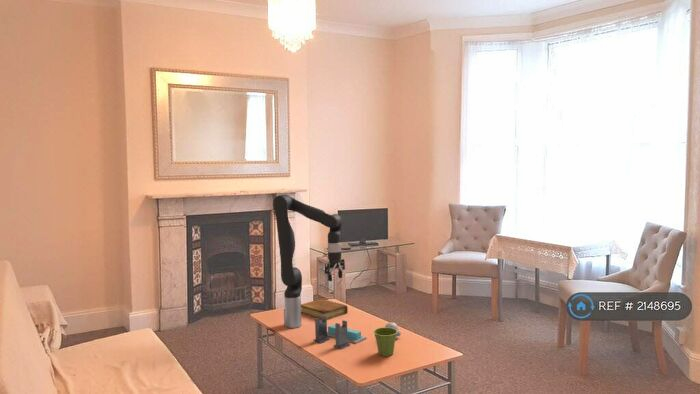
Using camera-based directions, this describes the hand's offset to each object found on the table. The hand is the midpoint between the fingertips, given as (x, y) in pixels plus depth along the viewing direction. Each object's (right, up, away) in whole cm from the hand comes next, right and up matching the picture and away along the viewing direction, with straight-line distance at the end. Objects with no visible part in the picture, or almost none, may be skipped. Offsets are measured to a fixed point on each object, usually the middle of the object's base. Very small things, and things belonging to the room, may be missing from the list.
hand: (335, 279), depth 303 cm
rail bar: (+5, -28, -11) cm, 31 cm away
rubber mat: (+5, -29, -11) cm, 31 cm away
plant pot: (+26, -31, -36) cm, 54 cm away
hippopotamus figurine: (+29, -29, -16) cm, 44 cm away
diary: (-8, -26, +33) cm, 43 cm away
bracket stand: (-1, -30, -20) cm, 36 cm away
